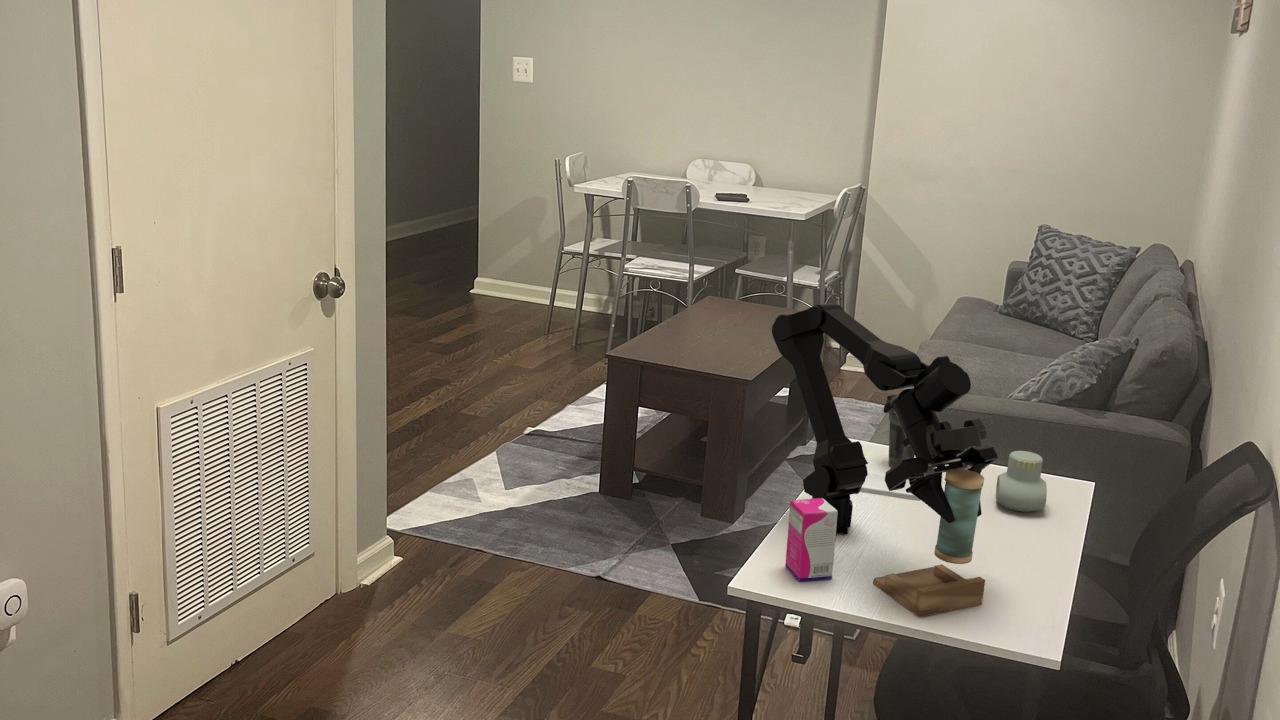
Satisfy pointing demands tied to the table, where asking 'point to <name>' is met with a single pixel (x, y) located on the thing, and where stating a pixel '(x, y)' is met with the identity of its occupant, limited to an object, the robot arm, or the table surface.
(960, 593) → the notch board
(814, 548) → the supplement box
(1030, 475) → the air freshener
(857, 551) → the table surface
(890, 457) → the beverage cup
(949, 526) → the oak spool
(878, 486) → the hard drive
